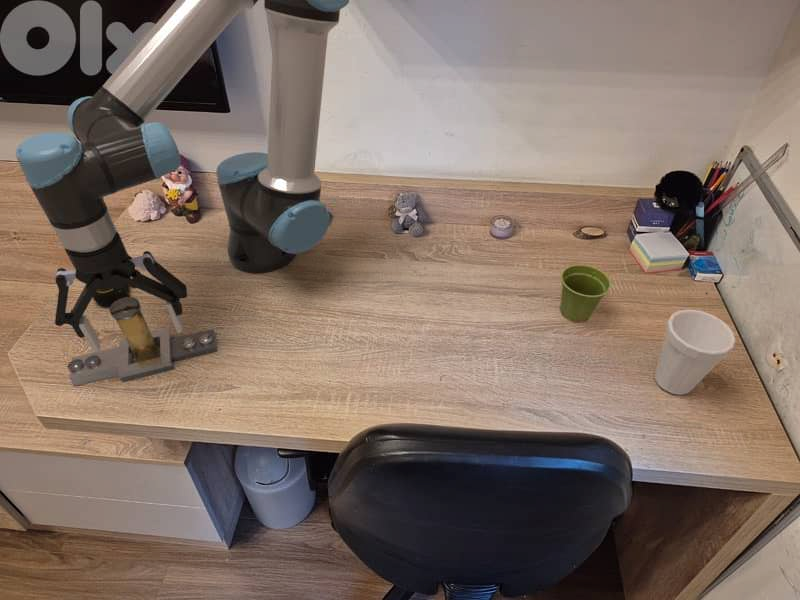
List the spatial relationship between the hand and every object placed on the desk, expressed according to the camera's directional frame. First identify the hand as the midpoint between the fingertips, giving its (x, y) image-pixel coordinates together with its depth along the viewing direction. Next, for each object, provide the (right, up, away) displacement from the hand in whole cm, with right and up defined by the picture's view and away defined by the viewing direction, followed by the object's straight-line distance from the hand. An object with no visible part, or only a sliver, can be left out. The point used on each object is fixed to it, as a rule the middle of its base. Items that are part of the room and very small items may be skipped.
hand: (139, 336), depth 92 cm
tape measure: (-13, +7, +17) cm, 22 cm away
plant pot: (+81, +4, +13) cm, 83 cm away
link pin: (0, -4, +4) cm, 6 cm away
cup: (+94, -8, 0) cm, 95 cm away
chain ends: (0, -4, +4) cm, 6 cm away
